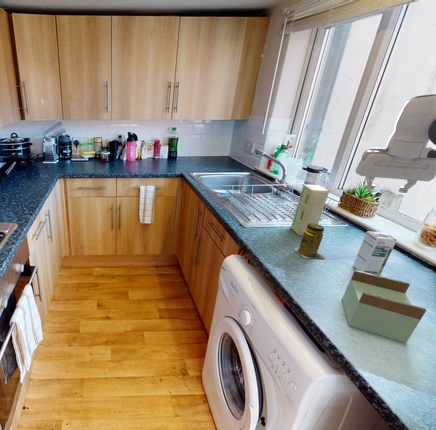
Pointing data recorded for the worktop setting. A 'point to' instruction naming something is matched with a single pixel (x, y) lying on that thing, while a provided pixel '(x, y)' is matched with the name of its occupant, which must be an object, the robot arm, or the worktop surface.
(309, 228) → the condiment
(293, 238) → the worktop surface
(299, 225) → the toy refrigerator
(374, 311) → the open green tray
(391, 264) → the worktop surface
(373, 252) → the syrup box
